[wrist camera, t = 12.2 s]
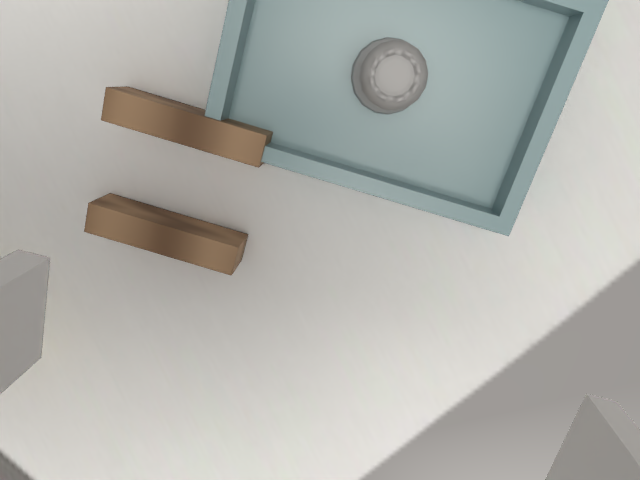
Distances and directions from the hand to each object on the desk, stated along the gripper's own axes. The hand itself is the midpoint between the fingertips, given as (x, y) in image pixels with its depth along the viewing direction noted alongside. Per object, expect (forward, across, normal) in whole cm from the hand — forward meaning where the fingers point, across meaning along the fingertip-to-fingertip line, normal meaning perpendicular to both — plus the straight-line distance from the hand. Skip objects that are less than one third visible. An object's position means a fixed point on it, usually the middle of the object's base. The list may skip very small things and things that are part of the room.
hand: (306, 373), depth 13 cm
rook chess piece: (+23, +1, +7) cm, 24 cm away
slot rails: (+24, -10, -2) cm, 26 cm away
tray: (+23, +1, +7) cm, 24 cm away
